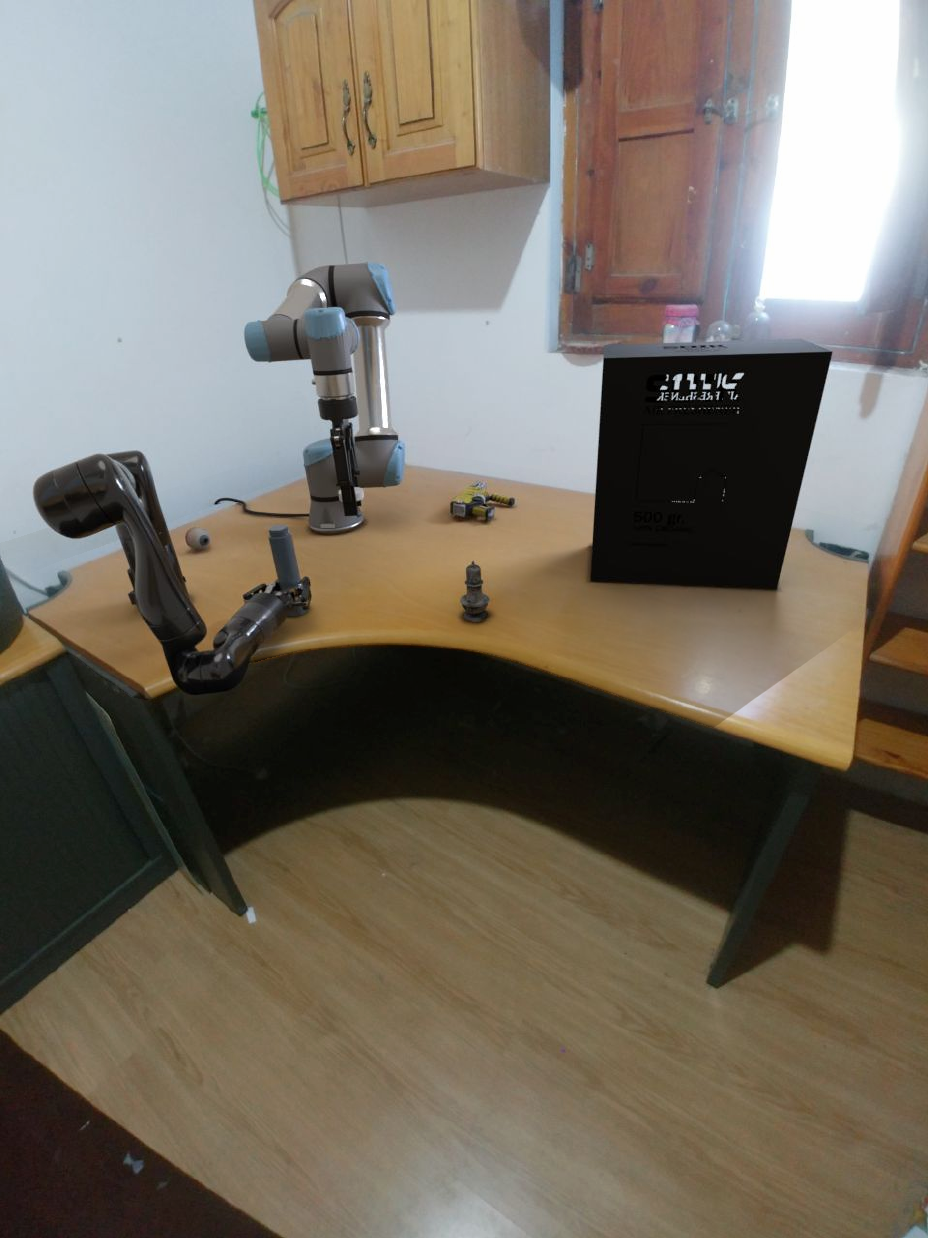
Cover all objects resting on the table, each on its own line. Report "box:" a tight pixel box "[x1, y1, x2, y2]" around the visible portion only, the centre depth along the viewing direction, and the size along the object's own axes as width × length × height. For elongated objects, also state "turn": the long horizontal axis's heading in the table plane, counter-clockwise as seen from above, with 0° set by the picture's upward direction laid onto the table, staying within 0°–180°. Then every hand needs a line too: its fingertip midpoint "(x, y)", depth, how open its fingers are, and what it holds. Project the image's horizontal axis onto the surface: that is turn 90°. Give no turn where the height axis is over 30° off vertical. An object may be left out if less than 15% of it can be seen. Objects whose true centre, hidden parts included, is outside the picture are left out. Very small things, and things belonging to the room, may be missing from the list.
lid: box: [338, 487, 365, 502], centre depth 127 cm, size 5×5×2 cm
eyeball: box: [184, 526, 211, 551], centre depth 157 cm, size 6×6×6 cm
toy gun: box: [449, 480, 516, 522], centre depth 174 cm, size 5×24×15 cm
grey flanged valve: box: [459, 560, 491, 623], centre depth 118 cm, size 6×6×12 cm
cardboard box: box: [589, 338, 834, 590], centre depth 125 cm, size 38×20×45 cm, turn 78°
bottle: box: [267, 523, 308, 617], centre depth 122 cm, size 4×4×19 cm
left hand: (296, 580), depth 126 cm, fingers closed on bottle, 4 cm apart
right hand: (353, 510), depth 129 cm, fingers closed on lid, 5 cm apart
